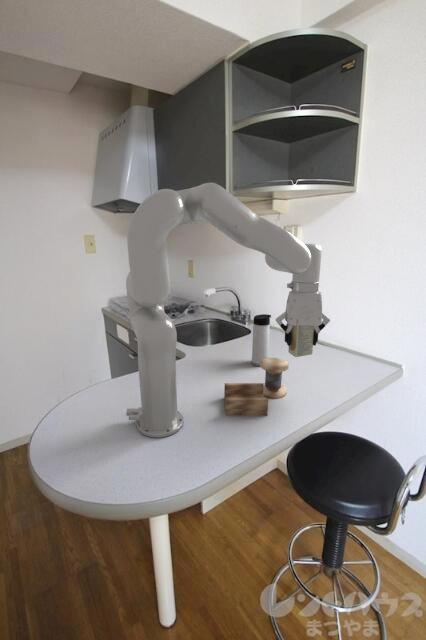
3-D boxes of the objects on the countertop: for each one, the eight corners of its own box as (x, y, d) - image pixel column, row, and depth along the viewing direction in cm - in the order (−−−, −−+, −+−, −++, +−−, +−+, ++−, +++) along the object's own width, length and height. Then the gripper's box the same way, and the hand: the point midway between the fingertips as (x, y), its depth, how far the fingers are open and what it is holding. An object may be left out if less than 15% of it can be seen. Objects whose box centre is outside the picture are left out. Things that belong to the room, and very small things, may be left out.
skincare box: (304, 350, 101) (307, 313, 98) (312, 355, 97) (316, 316, 94) (287, 352, 100) (289, 315, 96) (294, 357, 96) (297, 318, 92)
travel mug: (268, 367, 122) (270, 317, 116) (251, 366, 123) (252, 316, 117) (268, 361, 127) (271, 313, 122) (252, 359, 129) (254, 312, 123)
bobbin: (260, 398, 100) (262, 369, 97) (257, 384, 108) (258, 357, 105) (289, 398, 100) (291, 369, 97) (283, 384, 108) (285, 357, 105)
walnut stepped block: (225, 415, 91) (225, 400, 89) (224, 397, 100) (224, 383, 99) (267, 415, 91) (268, 400, 89) (262, 397, 100) (262, 383, 99)
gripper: (277, 289, 89) (274, 348, 94) (339, 289, 89) (333, 348, 94) (273, 285, 96) (270, 340, 101) (330, 284, 96) (325, 339, 101)
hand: (300, 343), depth 97 cm, fingers closed on skincare box, 7 cm apart
